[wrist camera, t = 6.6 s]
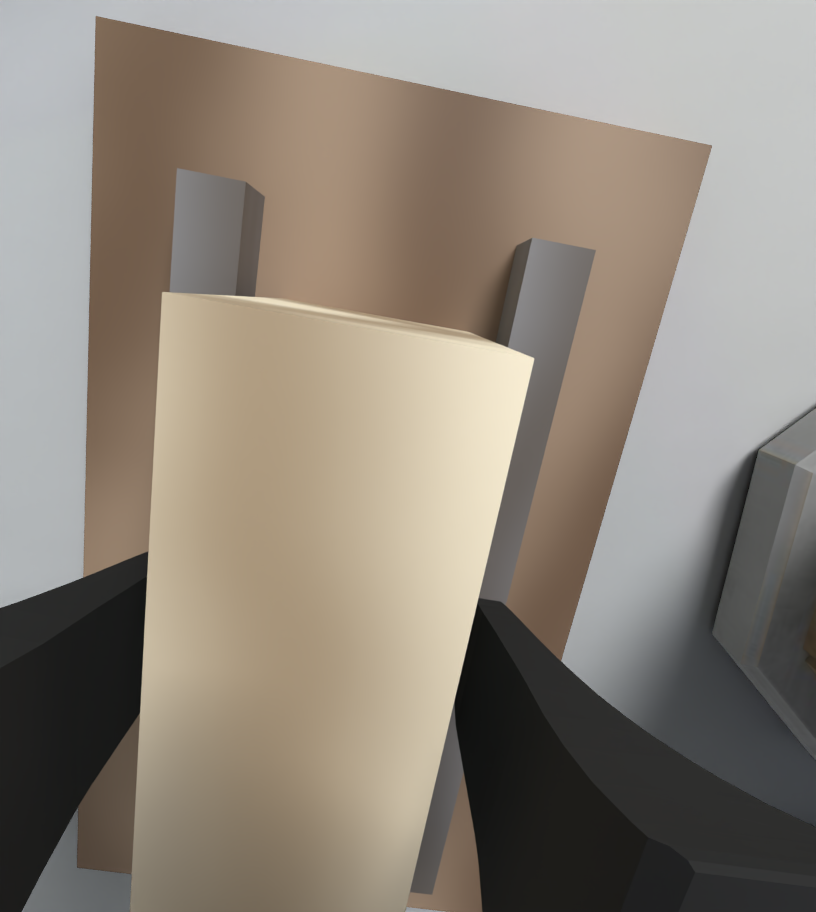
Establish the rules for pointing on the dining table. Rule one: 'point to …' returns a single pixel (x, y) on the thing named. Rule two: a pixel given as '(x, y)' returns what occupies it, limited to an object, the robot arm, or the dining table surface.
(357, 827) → the pale wooden bar
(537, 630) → the walnut ledge
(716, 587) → the dining table surface
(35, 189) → the dining table surface
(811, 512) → the tankard
